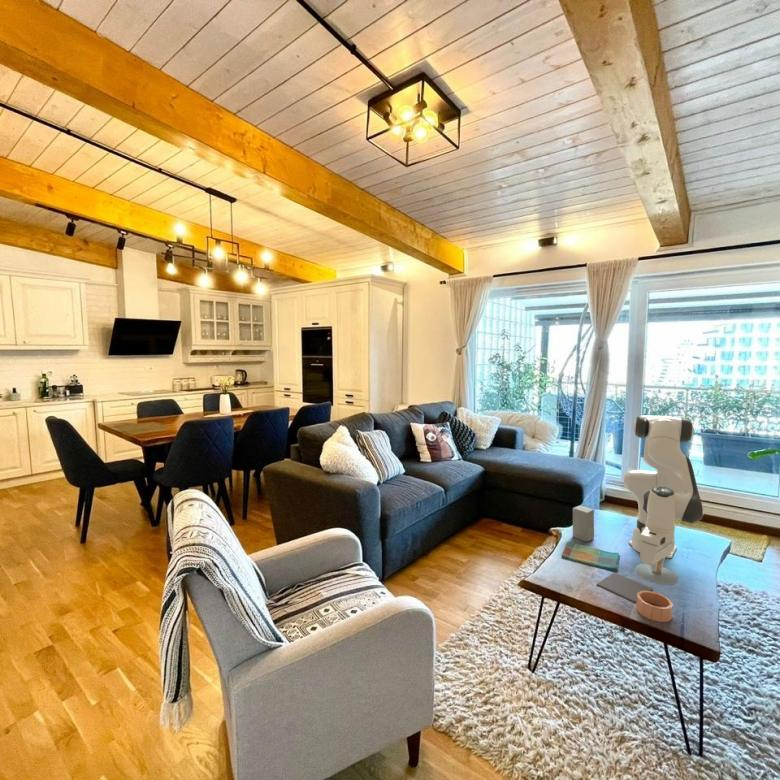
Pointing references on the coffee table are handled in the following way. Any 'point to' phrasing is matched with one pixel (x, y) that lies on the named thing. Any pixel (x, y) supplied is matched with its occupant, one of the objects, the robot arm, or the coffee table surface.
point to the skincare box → (583, 523)
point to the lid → (657, 574)
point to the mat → (623, 586)
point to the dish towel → (591, 556)
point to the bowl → (654, 606)
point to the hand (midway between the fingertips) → (656, 568)
